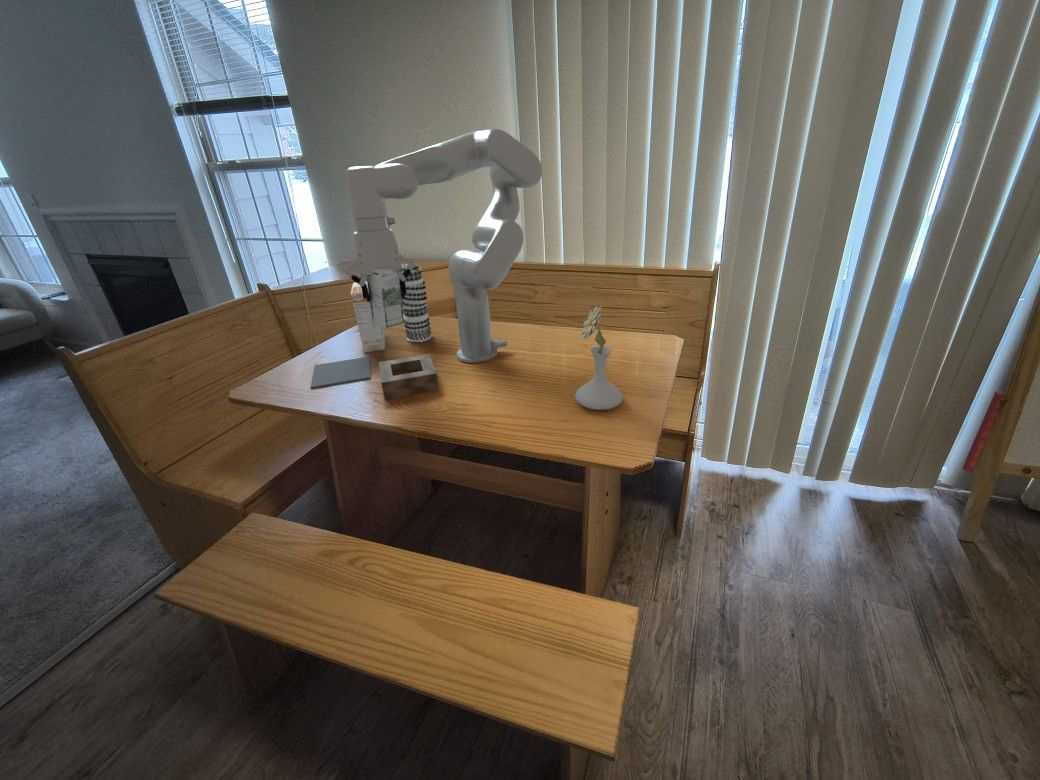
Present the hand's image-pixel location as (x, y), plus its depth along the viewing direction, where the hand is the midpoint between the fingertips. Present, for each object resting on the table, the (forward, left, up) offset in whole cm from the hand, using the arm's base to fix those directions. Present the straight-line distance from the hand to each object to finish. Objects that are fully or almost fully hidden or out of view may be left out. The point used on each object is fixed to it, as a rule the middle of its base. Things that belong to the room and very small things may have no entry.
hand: (385, 298), depth 113 cm
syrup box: (0, 0, -7) cm, 7 cm away
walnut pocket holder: (-2, +2, -24) cm, 24 cm away
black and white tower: (-9, -33, -24) cm, 42 cm away
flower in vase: (-44, +32, -24) cm, 59 cm away
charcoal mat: (+16, -14, -24) cm, 32 cm away
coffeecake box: (+6, -35, -24) cm, 43 cm away
